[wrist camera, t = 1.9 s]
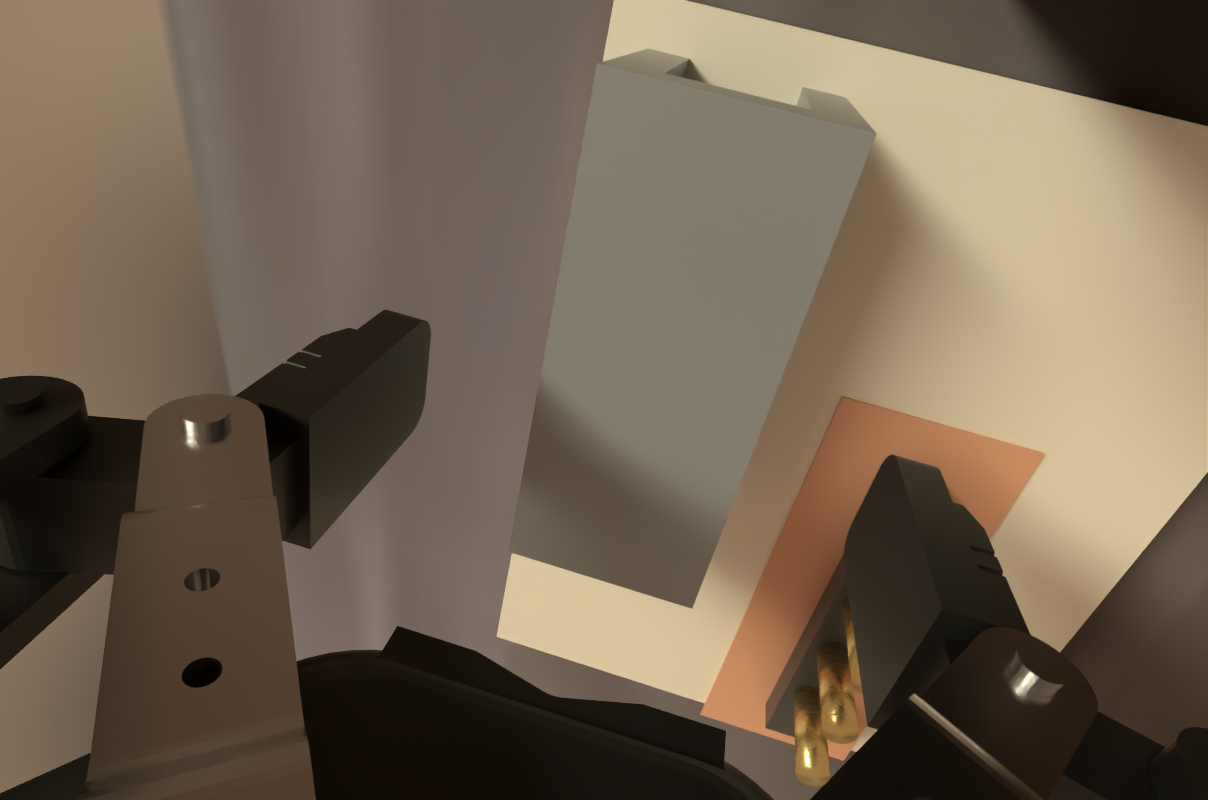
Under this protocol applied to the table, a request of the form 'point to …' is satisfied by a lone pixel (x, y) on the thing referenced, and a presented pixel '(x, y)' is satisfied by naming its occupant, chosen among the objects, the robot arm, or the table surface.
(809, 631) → the pin header
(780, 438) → the board
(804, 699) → the header pins
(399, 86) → the table surface
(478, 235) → the table surface
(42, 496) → the robot arm
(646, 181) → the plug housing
